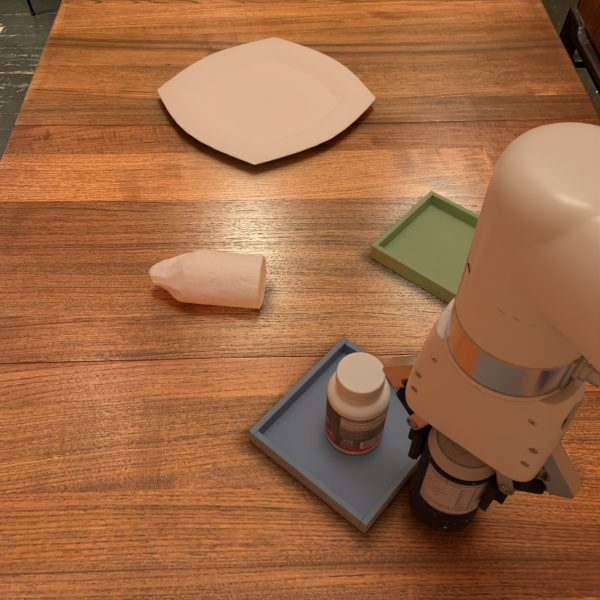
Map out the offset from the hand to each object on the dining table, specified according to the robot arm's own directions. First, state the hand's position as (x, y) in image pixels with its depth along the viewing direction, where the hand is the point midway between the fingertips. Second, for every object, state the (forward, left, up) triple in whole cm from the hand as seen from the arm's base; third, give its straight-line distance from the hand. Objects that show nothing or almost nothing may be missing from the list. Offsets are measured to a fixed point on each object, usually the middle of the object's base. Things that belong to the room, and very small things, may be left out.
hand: (455, 468), depth 51 cm
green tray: (+16, -25, -7) cm, 31 cm away
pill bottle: (+10, 0, -7) cm, 12 cm away
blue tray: (+10, 0, -7) cm, 12 cm away
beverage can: (0, 0, -7) cm, 7 cm away
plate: (+51, -33, -7) cm, 61 cm away
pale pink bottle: (+32, -3, -7) cm, 33 cm away
